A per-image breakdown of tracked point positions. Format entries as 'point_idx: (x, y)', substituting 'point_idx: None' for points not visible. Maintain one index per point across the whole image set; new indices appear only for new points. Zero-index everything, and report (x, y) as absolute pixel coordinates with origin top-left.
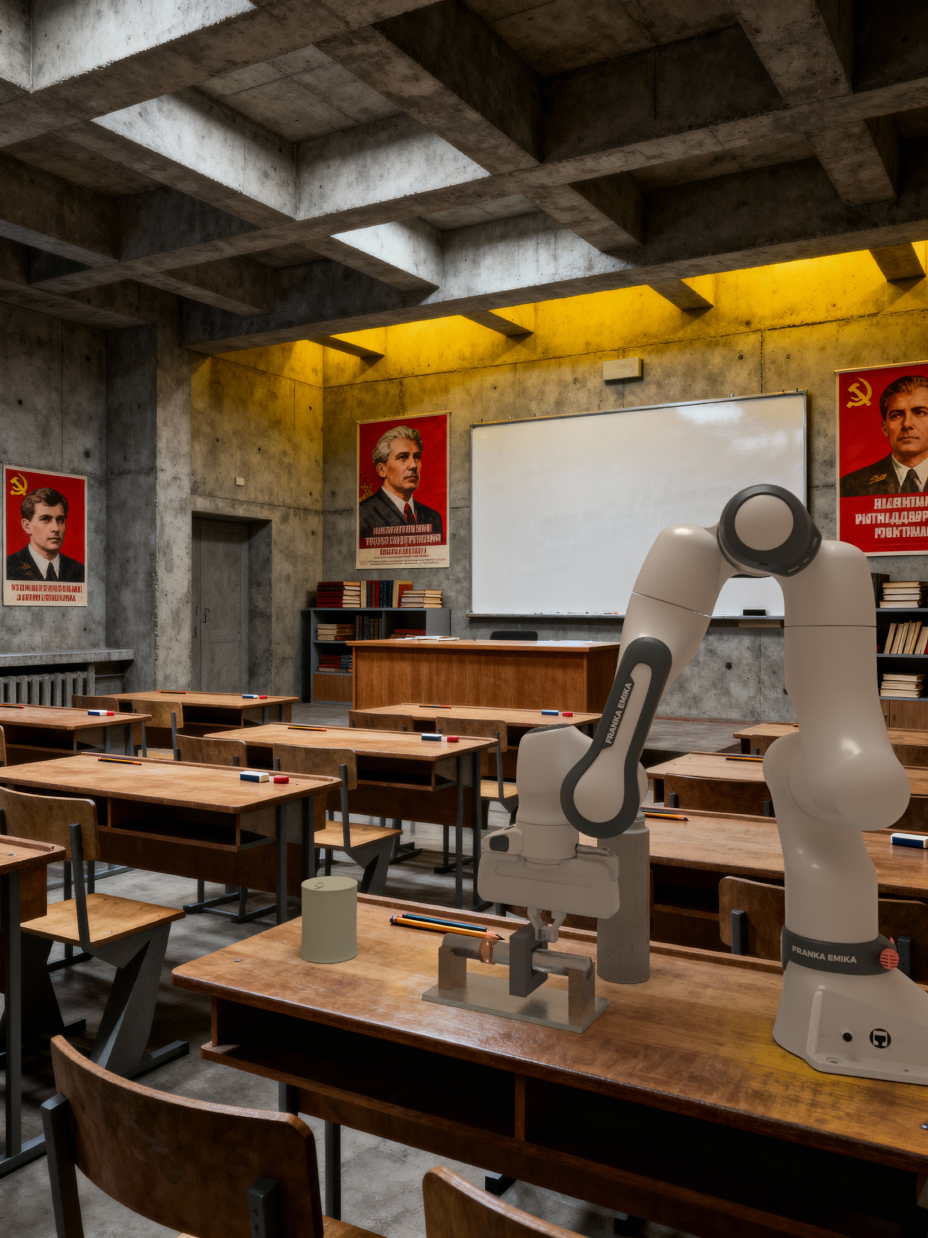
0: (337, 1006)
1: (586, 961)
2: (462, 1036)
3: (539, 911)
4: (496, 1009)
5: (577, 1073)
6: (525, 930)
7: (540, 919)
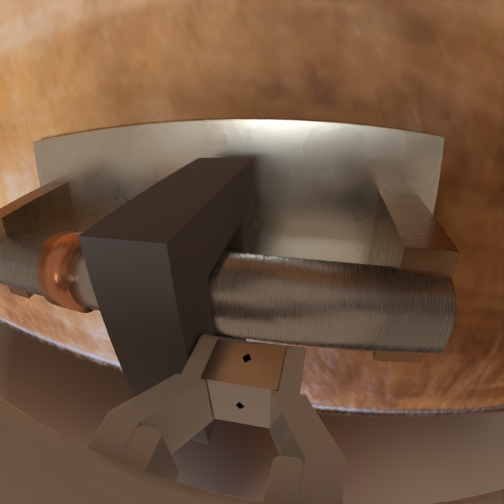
0: (36, 324)
1: (437, 352)
2: None
3: (167, 464)
4: None
5: (403, 414)
6: (152, 385)
7: (178, 408)
